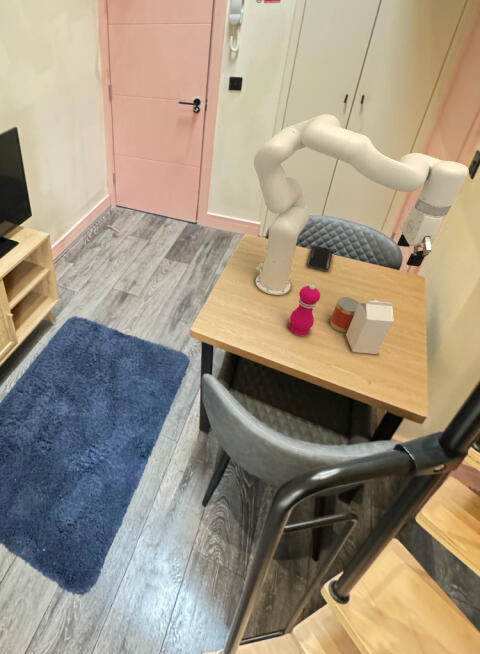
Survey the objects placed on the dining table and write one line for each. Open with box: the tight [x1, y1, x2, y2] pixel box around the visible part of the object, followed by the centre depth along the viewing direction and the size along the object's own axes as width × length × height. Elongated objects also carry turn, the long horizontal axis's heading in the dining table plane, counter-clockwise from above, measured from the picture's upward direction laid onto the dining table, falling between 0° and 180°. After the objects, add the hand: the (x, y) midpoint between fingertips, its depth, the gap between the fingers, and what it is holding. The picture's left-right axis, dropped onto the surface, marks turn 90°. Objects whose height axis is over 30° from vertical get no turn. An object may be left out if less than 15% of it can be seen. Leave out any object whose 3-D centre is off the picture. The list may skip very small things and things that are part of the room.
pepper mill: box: [288, 284, 321, 336], centre depth 131 cm, size 7×7×20 cm
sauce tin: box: [329, 296, 360, 333], centre depth 134 cm, size 7×7×10 cm
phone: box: [306, 245, 334, 272], centre depth 166 cm, size 8×1×15 cm
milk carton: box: [345, 299, 395, 355], centre depth 124 cm, size 7×7×19 cm
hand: (407, 255), depth 119 cm, fingers open, 9 cm apart
